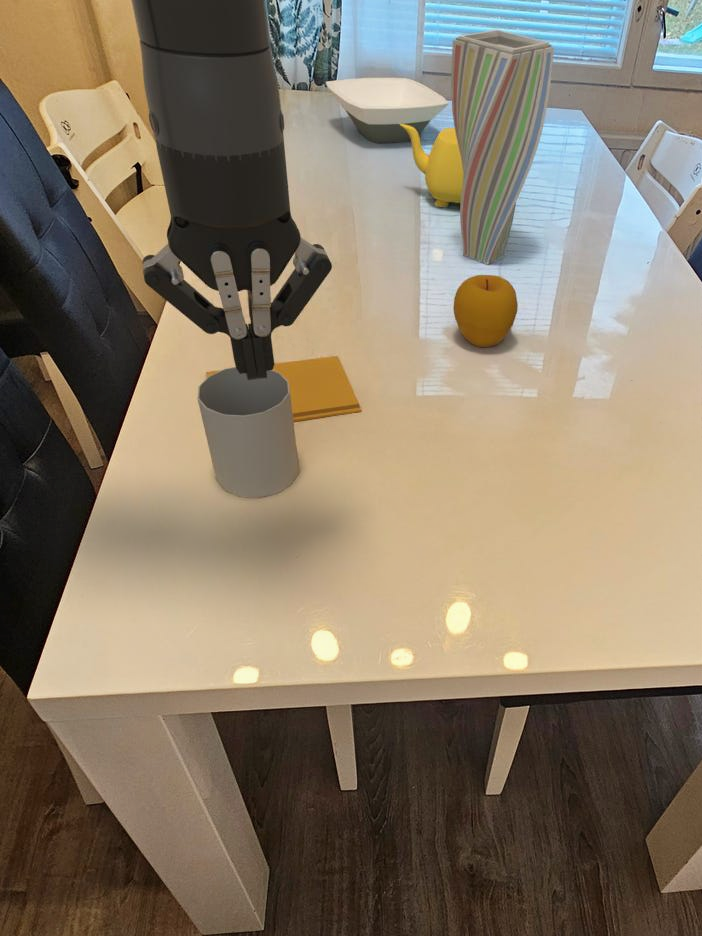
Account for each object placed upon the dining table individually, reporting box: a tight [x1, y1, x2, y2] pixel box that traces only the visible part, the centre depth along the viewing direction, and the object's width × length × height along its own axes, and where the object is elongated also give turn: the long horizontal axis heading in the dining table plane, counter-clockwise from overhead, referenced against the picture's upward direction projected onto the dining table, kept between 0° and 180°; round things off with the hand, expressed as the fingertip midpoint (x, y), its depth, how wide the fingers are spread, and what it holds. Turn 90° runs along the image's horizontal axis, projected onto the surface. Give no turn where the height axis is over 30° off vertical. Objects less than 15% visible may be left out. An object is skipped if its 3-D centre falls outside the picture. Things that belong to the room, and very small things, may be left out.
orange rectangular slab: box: [205, 355, 362, 422], centre depth 83 cm, size 16×12×1 cm
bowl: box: [325, 77, 449, 144], centre depth 153 cm, size 22×23×8 cm
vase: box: [450, 29, 555, 266], centre depth 105 cm, size 14×14×30 cm
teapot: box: [400, 124, 463, 208], centre depth 128 cm, size 14×20×13 cm
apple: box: [452, 274, 519, 348], centre depth 93 cm, size 8×8×9 cm
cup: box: [196, 366, 300, 499], centre depth 70 cm, size 8×8×10 cm
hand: (255, 373), depth 55 cm, fingers closed
